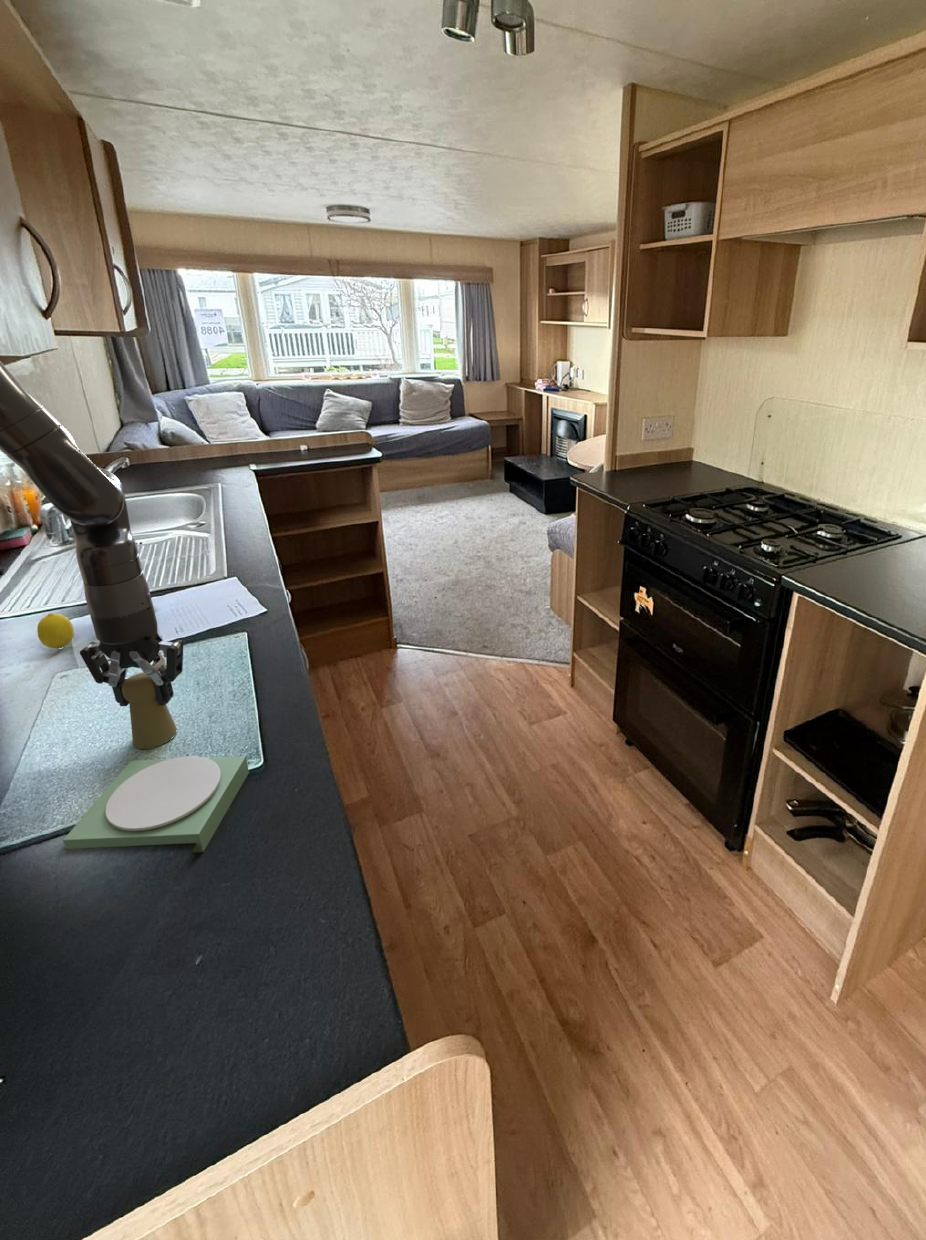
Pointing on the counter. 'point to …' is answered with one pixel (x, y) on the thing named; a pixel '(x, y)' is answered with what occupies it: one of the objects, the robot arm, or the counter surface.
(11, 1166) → the counter surface
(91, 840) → the scale
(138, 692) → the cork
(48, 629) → the lemon
